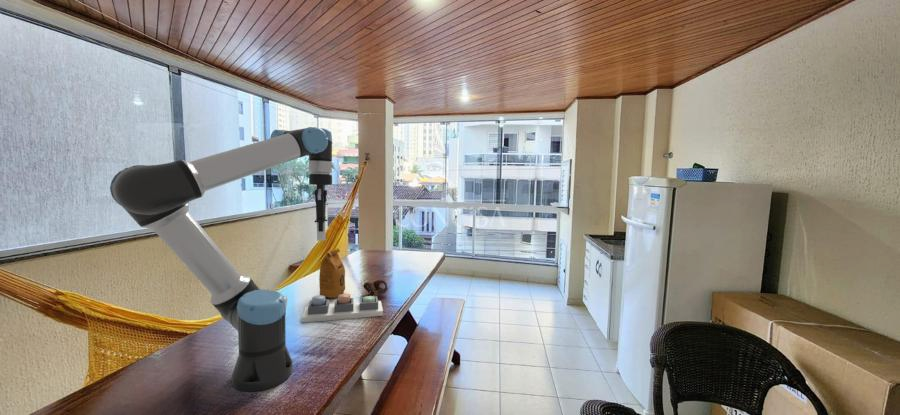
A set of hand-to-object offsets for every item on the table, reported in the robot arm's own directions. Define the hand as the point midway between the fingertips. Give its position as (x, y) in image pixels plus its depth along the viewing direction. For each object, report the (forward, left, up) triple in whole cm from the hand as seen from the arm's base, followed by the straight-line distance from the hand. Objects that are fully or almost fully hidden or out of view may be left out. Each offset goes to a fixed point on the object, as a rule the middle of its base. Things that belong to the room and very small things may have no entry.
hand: (321, 240), depth 121 cm
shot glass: (-3, +28, -35) cm, 45 cm away
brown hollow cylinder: (+39, +19, -35) cm, 56 cm away
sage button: (+24, +4, -32) cm, 40 cm away
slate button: (+8, +16, -30) cm, 35 cm away
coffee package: (+25, +33, -35) cm, 54 cm away
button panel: (+16, +10, -34) cm, 39 cm away
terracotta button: (+16, +10, -30) cm, 35 cm away
